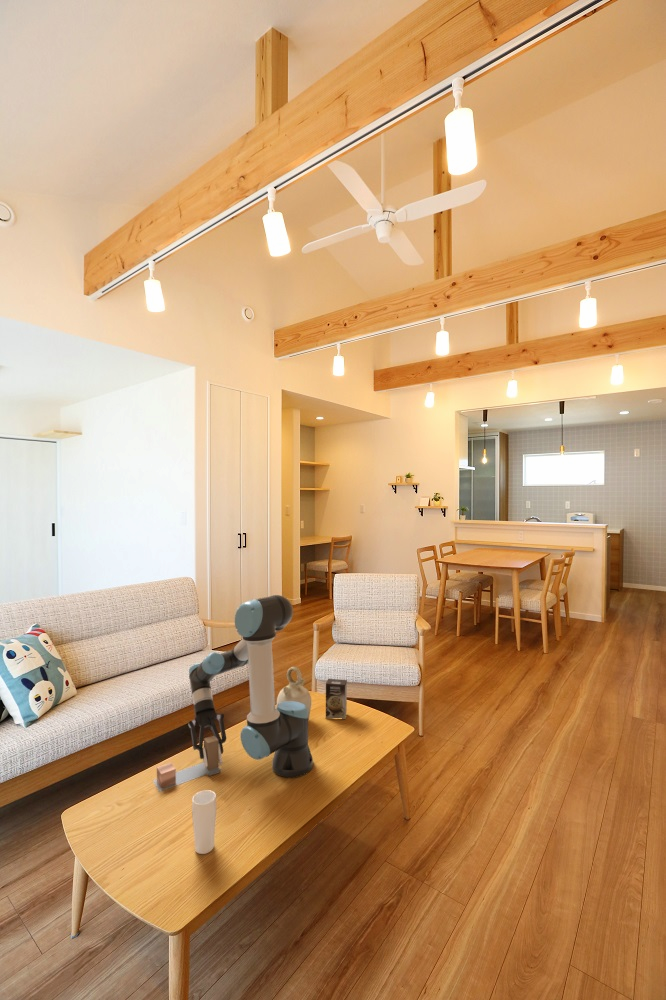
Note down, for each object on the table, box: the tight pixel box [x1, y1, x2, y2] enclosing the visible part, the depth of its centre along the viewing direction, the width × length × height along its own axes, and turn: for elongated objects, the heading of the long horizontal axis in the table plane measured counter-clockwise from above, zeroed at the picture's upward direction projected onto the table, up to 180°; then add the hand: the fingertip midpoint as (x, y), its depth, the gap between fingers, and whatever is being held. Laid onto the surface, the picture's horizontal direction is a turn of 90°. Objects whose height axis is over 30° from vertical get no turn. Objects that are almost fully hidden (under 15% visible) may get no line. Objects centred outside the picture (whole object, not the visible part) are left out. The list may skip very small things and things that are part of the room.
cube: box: [156, 762, 177, 788], centre depth 167 cm, size 5×5×5 cm
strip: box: [152, 735, 222, 793], centre depth 171 cm, size 8×22×11 cm, turn 126°
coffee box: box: [325, 678, 348, 720], centre depth 217 cm, size 9×6×16 cm
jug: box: [276, 666, 312, 721], centre depth 211 cm, size 15×16×25 cm
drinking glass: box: [191, 789, 217, 855], centre depth 137 cm, size 7×7×15 cm
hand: (213, 765), depth 173 cm, fingers closed on strip, 5 cm apart
